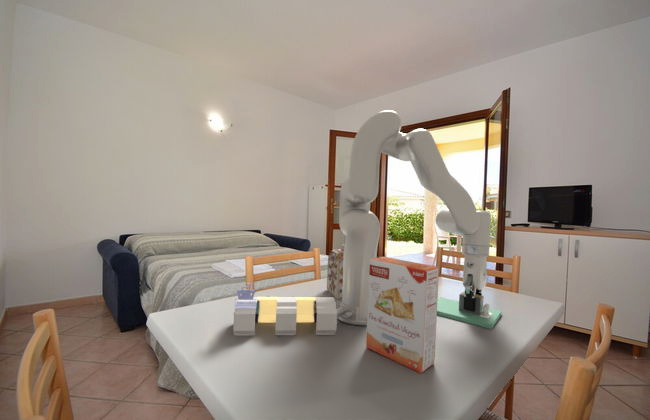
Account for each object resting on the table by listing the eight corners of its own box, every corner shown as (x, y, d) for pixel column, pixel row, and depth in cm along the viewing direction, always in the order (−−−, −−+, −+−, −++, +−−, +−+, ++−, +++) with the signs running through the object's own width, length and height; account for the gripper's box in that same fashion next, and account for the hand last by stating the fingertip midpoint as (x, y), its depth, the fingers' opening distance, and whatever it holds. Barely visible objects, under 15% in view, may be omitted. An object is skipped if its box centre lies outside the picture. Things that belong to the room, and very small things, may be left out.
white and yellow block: (232, 338, 72) (234, 284, 72) (240, 321, 83) (241, 274, 82) (335, 337, 75) (338, 285, 75) (330, 321, 85) (332, 275, 85)
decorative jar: (326, 289, 116) (327, 242, 115) (354, 288, 119) (356, 242, 119) (336, 299, 104) (338, 247, 104) (367, 297, 108) (369, 247, 107)
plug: (479, 315, 91) (480, 298, 90) (458, 310, 94) (459, 293, 94) (482, 312, 94) (483, 295, 94) (462, 307, 97) (463, 291, 97)
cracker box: (364, 349, 69) (368, 257, 69) (379, 341, 73) (383, 255, 73) (421, 375, 59) (426, 269, 59) (435, 364, 63) (440, 265, 63)
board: (491, 328, 84) (492, 313, 84) (424, 311, 96) (425, 298, 96) (501, 314, 95) (502, 301, 95) (440, 300, 107) (440, 289, 107)
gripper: (482, 254, 84) (479, 318, 85) (494, 249, 98) (491, 303, 98) (454, 251, 89) (451, 311, 89) (469, 246, 102) (466, 298, 103)
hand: (472, 306), depth 94 cm, fingers open, 7 cm apart
